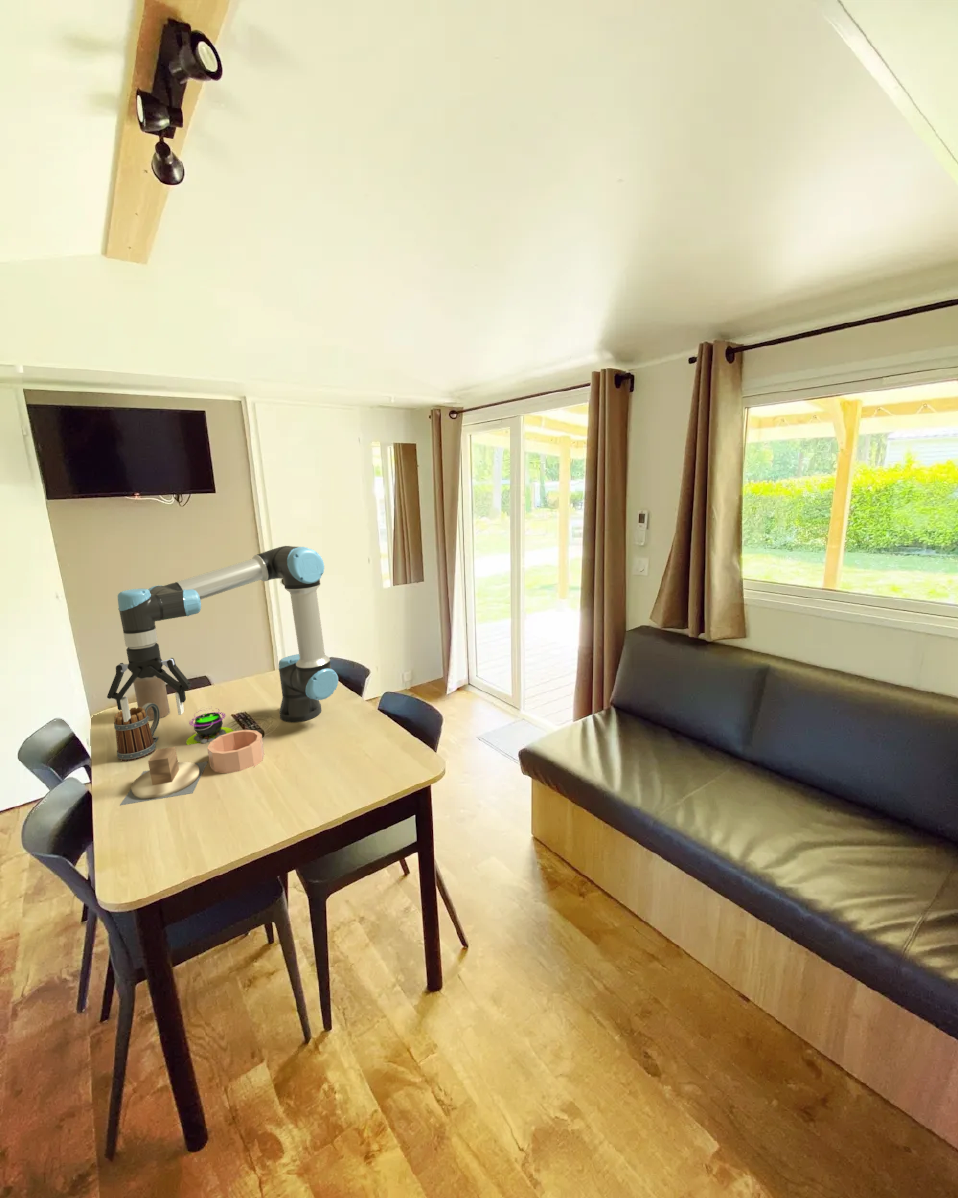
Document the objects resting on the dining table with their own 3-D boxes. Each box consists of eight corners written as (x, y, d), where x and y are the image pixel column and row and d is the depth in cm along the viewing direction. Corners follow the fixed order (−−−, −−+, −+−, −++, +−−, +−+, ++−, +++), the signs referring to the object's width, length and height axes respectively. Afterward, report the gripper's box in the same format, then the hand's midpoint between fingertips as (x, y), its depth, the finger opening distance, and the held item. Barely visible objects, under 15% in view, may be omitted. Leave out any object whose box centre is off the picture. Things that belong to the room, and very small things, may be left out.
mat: (208, 763, 159) (208, 761, 159) (193, 795, 142) (192, 793, 142) (143, 773, 154) (143, 771, 154) (119, 807, 137) (119, 805, 137)
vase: (175, 713, 197) (163, 645, 191) (147, 723, 189) (134, 652, 183) (162, 708, 202) (150, 641, 197) (135, 717, 194) (122, 648, 189)
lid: (205, 762, 158) (201, 736, 156) (191, 792, 142) (186, 763, 140) (144, 772, 154) (139, 744, 152) (122, 804, 138) (116, 774, 136)
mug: (137, 764, 160) (129, 720, 156) (109, 762, 162) (101, 718, 159) (175, 740, 174) (168, 700, 171) (149, 738, 177) (142, 698, 173)
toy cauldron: (179, 739, 176) (174, 709, 174) (224, 724, 187) (220, 696, 184) (195, 753, 166) (190, 722, 164) (241, 736, 177) (237, 707, 174)
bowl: (266, 746, 168) (264, 727, 167) (260, 769, 154) (257, 748, 153) (217, 753, 164) (214, 734, 163) (206, 778, 150) (202, 756, 149)
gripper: (195, 636, 146) (206, 705, 150) (96, 646, 140) (110, 717, 144) (188, 644, 139) (199, 715, 143) (83, 654, 132) (98, 728, 137)
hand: (154, 716), depth 144 cm, fingers open, 13 cm apart
